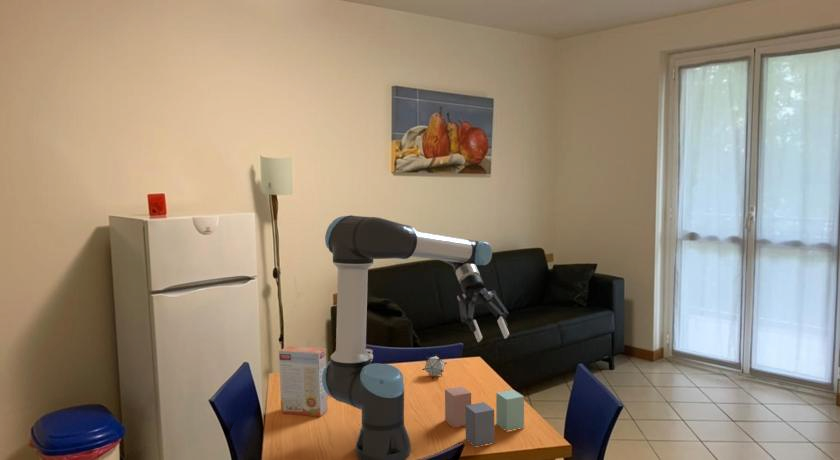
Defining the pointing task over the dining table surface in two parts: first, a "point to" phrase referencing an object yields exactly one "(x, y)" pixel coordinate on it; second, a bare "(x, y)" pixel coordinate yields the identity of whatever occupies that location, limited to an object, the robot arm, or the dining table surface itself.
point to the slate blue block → (479, 424)
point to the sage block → (510, 410)
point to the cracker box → (302, 381)
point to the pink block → (456, 406)
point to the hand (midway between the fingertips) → (493, 338)
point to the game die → (434, 366)
